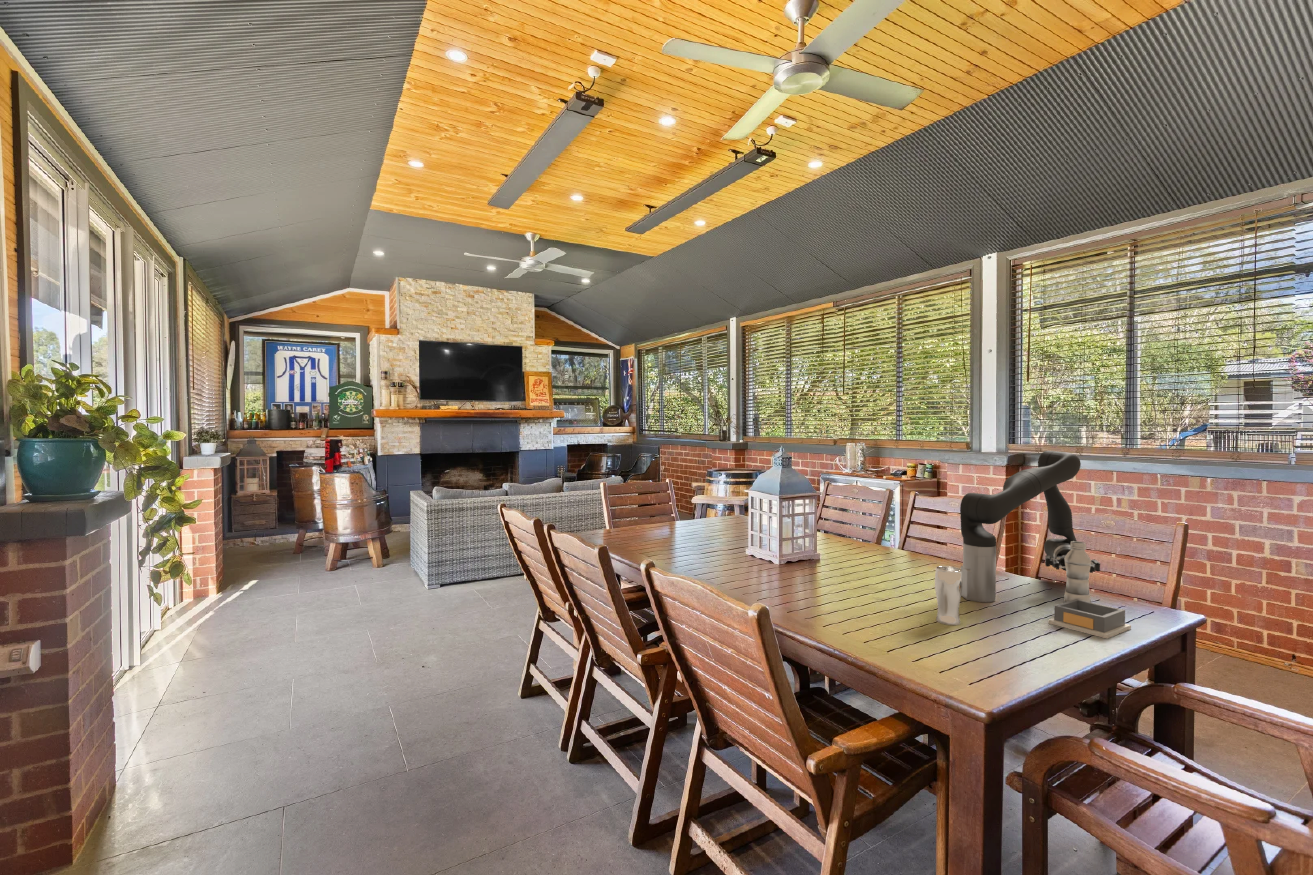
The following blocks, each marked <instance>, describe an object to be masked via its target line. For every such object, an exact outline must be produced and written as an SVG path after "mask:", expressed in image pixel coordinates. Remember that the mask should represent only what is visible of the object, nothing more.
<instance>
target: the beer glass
mask: <svg viewBox="0 0 1313 875" xmlns="http://www.w3.org/2000/svg"><path fill="white" fill-rule="evenodd" d="M934 572H935V575H934V591H935V597H936V601H937V614H936V618H935V620H936V622H937V623H939V624H941V625H946V626H958V625H960V624H961V618H960V604H961V599H962V596H961V595H962V585H963V584H962V569H961V567H956V566H953V565H952V566H950V565H938V566H935V571H934Z"/></svg>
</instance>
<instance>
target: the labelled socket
mask: <svg viewBox="0 0 1313 875" xmlns="http://www.w3.org/2000/svg"><path fill="white" fill-rule="evenodd" d="M1053 607H1054V608H1053V610H1054V612H1053V614H1054V615H1053V617H1051V618H1050V619H1048V624H1050V625H1053V626H1058V627H1061V628H1066V629H1069V630H1073V631H1077V632H1081V633H1084V634H1089V635H1092V636H1095V637H1100V638H1102V639H1110V638H1112V637H1115V636H1117V635H1120V634H1122V633H1124V632H1126V631H1129V630H1131V629H1132V625H1131V624H1127V623H1126V609H1121V608H1117V607H1112V606H1109V605H1104V604H1100V603H1096V602H1092V601H1091V602H1087V601H1082V600H1078V599H1074V600H1071V601H1068V602H1064V601H1063V602H1062V603H1058V604H1055V605H1054V606H1053ZM1119 633H1120V634H1119Z"/></svg>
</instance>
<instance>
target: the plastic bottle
mask: <svg viewBox="0 0 1313 875" xmlns="http://www.w3.org/2000/svg"><path fill="white" fill-rule="evenodd" d="M1086 544H1087V543H1086V542H1084V541H1078V540H1077V541H1071V546H1070V548H1071V550H1070V551H1069V552H1068V553H1067V555H1066V556H1065V558H1064V560H1065V567H1066V571H1065V572H1066V586H1065V592H1064V594H1063V595H1064V596H1063V600H1064V601H1063V603H1064V602H1068V601H1071V600H1074V599H1078V600H1082V601H1087V602H1091V603H1092V598H1091V595H1090V584H1089V581H1090V580H1089V579H1090V566H1091V560H1092V559H1091V558H1090V556H1089V554H1088V553H1087V551H1086V550H1087V547H1086Z"/></svg>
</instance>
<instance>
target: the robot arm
mask: <svg viewBox="0 0 1313 875" xmlns="http://www.w3.org/2000/svg"><path fill="white" fill-rule="evenodd" d="M1037 460H1038V461H1037V467H1031V468H1026V469H1022V470H1020V471H1017V472H1016V473H1014V474H1012V475H1011V476H1009V477H1007V478H1006V480H1005V481H1004V483H1003V484H1002V486H1003V487H1002V491H999V492H997V493H995V494H988V493H987V494H986V493H978V492H968V493H966V494H964V495H963V497H962V499H961V501H960V506H959V509H960V512H959V516H960V533H961V537H962V542H963V544H962V565H960V569H962V584H963V585H962V595H961V598H962V597H963V599H964V600H966V601H972V602H978V603H979V602H980V603H993V602H995V601H996V600H997V599H996V598H997V597H996V595H997V594H996V592H997V589H996V588H997V584H996V583H997V538H996V536H995V535H994V534H992V533H990V532H989V531H988V530H986V528H984V526H983V524H985V525H994V524H996V523H999V522H1000V521H1001V520H1002V519H1004V518H1005V517H1007V516H1008V514H1010V513H1011V512H1012V511H1014V510H1015V509H1017V508H1018V507H1020V506H1022V505H1024V504H1025V503H1027V502H1029V501H1031V500H1032V499H1034V498H1036V497H1037V496H1039V495H1040V494H1042V493H1043V495H1044V498H1045V503H1046V508H1047V520H1048V521H1047V522H1048V530H1049V532H1050V533H1051V534H1053V535H1056V536H1059V537H1060V536H1061V537H1064V538H1049V539H1046V540H1045V542H1044V543H1043V544H1044V545H1043V550H1044V553H1045V556H1044V558H1045V559H1044V565H1045V567H1050V566H1052V568H1054V569H1056V570H1060V569H1061V570H1063V571H1065V572H1066V567H1065V560H1064V558H1065V556H1066V555H1067V553H1068V552H1069V551H1070V550H1071V548H1070V546H1071V541H1078V540H1077V538H1076V536H1075V532H1074V527H1073V514H1072V509H1071V507H1070V505H1069V503H1068V501H1067V500H1066V499H1065V497H1064V495H1062V493H1061V491H1060V489H1059V487H1058V485H1060V484H1062V483H1064V482H1067V481H1070V480H1073V479H1074V478H1075V477H1076V476H1077V474H1078V473H1080V472H1079V471H1080V469H1081V467H1082V466H1081V465H1082V463H1081V460H1080V458H1079V457H1078V456H1077V455H1076V454H1074V453H1072V452H1066V451H1058V450H1057V451H1056V450H1044V451H1043V452H1041V453H1040V454H1039V457H1038V459H1037ZM1094 572H1101V562H1099V560H1097V559H1091V566H1090V572H1089V574H1093V573H1094Z"/></svg>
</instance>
